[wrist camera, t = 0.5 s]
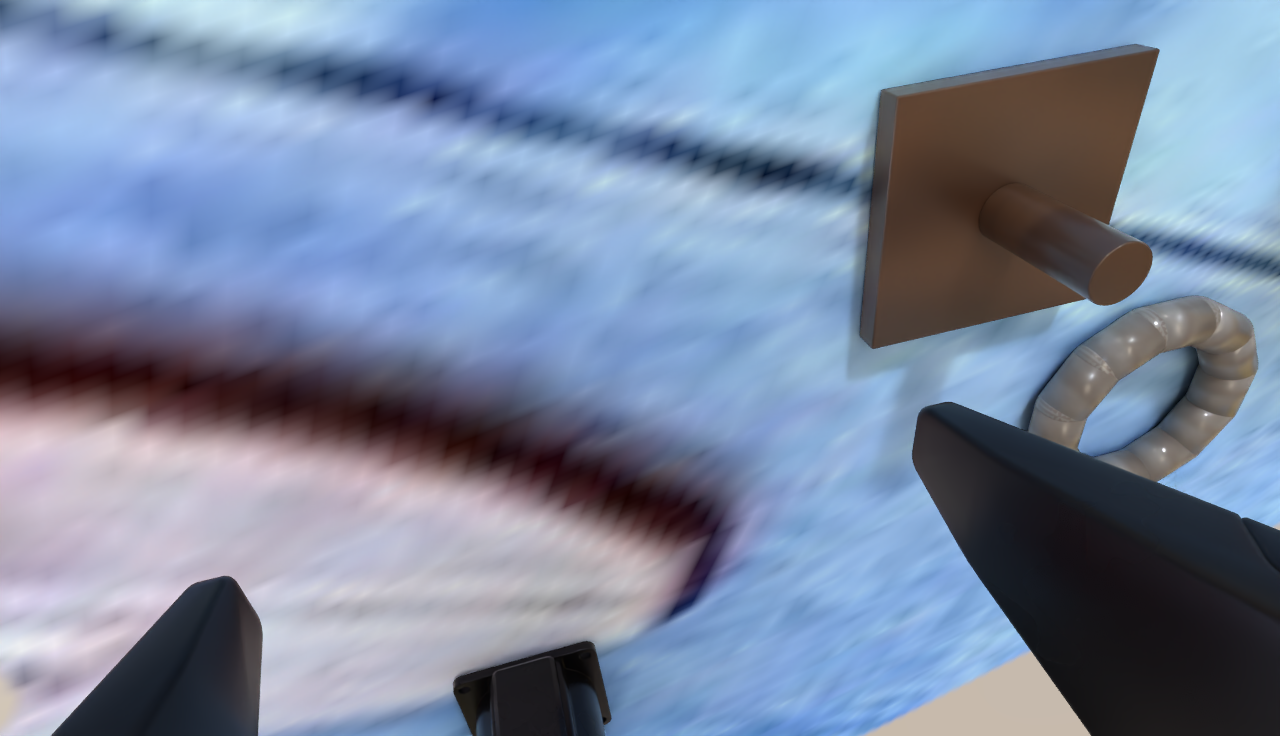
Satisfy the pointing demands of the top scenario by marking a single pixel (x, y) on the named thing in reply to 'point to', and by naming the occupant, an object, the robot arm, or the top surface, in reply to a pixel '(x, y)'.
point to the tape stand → (1003, 194)
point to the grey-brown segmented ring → (1132, 344)
